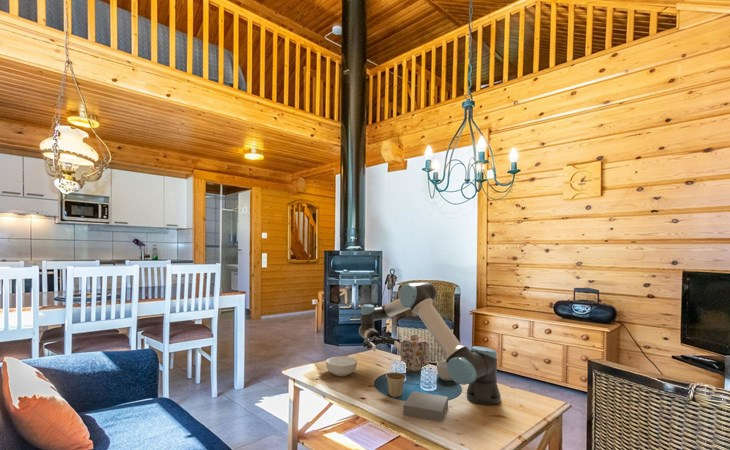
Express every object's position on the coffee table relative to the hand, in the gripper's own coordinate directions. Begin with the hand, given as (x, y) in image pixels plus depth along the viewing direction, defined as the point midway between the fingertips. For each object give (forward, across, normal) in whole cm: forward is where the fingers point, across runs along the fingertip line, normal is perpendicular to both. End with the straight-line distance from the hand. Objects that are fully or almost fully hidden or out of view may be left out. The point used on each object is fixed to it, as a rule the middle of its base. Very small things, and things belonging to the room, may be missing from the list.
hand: (387, 347), depth 190 cm
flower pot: (+10, 0, -19) cm, 22 cm away
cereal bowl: (-24, +17, -20) cm, 35 cm away
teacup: (-2, -35, -19) cm, 40 cm away
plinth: (+30, -6, -19) cm, 36 cm away
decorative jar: (-23, -26, -20) cm, 40 cm away
